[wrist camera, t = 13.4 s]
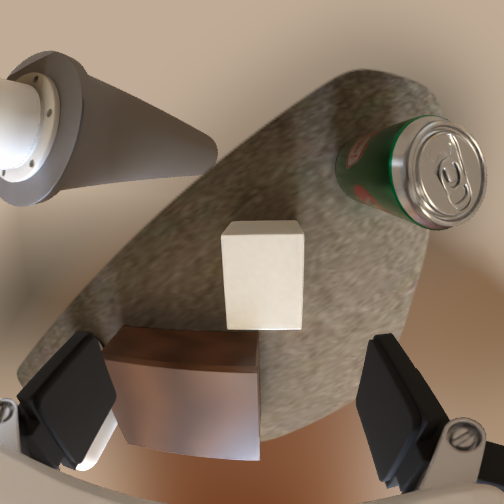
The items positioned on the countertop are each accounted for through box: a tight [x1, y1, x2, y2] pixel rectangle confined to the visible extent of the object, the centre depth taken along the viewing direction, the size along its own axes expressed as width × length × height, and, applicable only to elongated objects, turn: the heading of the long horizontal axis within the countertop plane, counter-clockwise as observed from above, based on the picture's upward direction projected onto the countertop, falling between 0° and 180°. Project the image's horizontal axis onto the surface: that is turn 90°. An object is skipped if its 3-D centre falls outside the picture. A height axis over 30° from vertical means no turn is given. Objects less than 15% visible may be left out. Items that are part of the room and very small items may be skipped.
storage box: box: [101, 326, 261, 460], centre depth 24 cm, size 13×11×6 cm
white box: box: [221, 220, 304, 330], centre depth 21 cm, size 5×6×5 cm
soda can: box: [335, 115, 487, 230], centre depth 15 cm, size 5×5×12 cm
